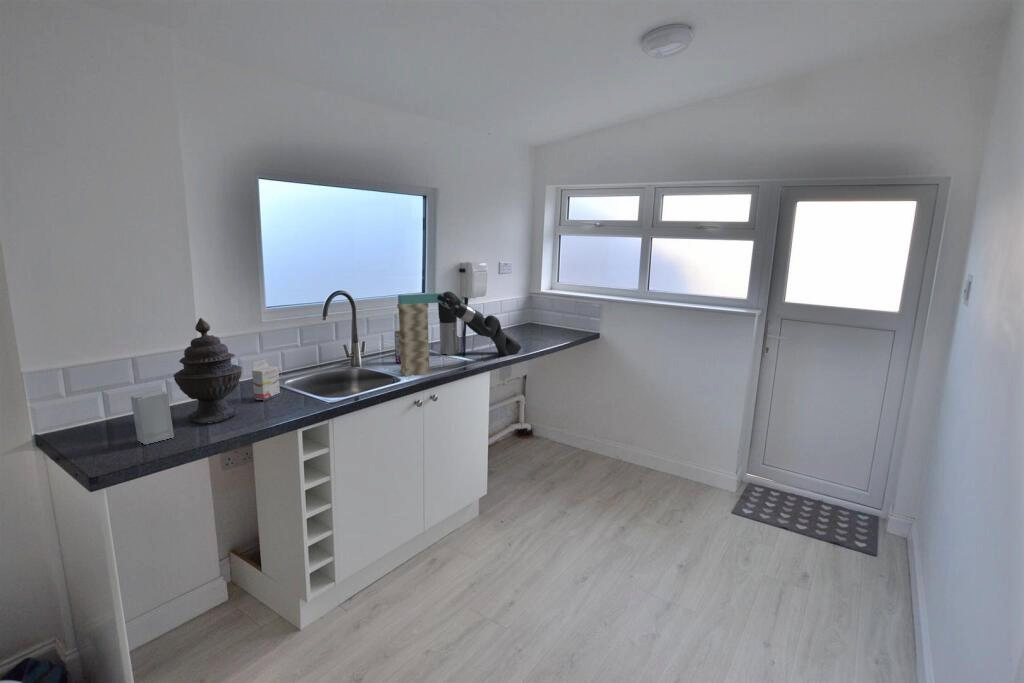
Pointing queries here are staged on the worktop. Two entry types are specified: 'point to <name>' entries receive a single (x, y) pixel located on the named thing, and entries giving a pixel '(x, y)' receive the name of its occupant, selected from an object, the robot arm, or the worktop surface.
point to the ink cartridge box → (265, 379)
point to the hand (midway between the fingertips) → (434, 295)
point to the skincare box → (152, 416)
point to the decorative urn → (208, 376)
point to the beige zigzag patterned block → (414, 339)
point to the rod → (419, 298)
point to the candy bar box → (397, 346)
